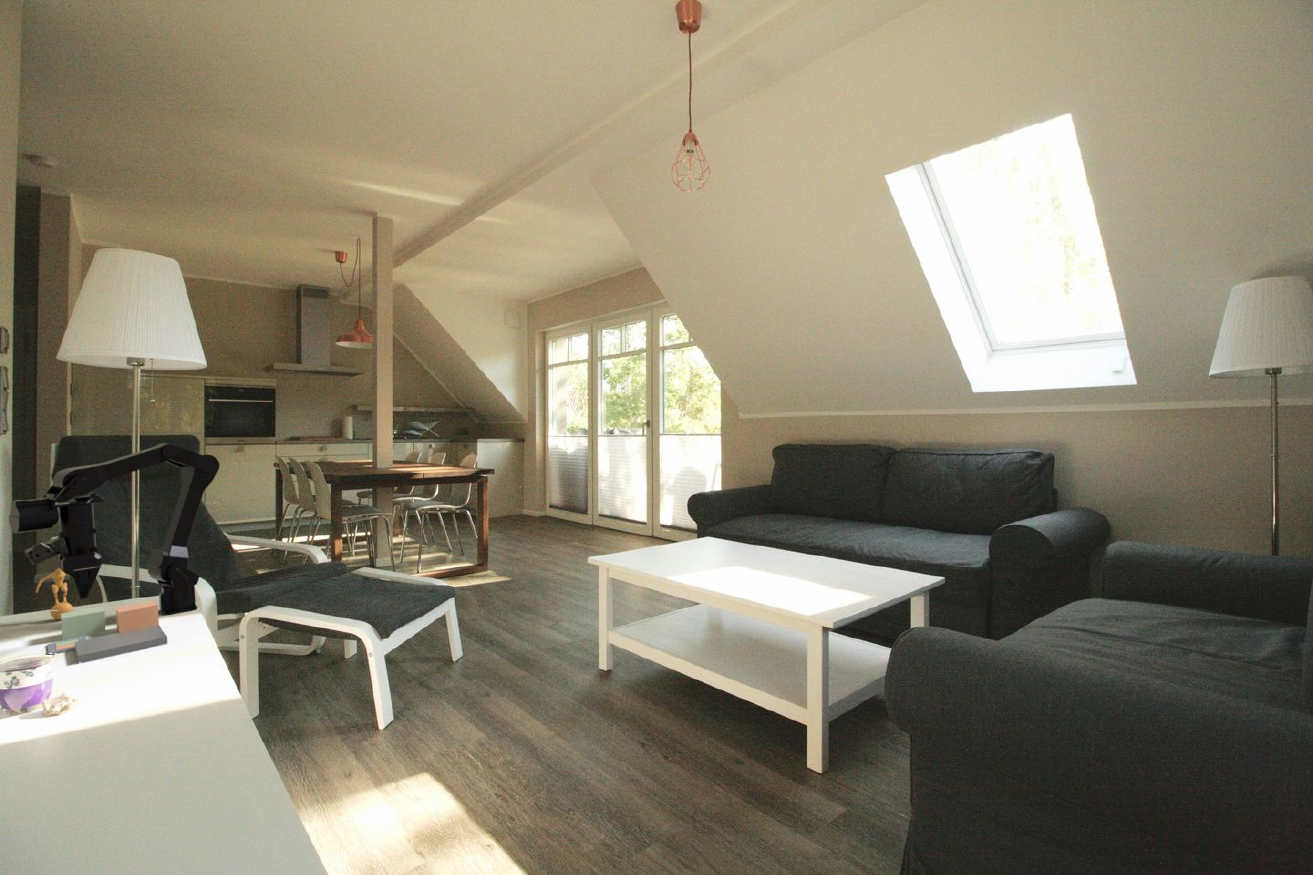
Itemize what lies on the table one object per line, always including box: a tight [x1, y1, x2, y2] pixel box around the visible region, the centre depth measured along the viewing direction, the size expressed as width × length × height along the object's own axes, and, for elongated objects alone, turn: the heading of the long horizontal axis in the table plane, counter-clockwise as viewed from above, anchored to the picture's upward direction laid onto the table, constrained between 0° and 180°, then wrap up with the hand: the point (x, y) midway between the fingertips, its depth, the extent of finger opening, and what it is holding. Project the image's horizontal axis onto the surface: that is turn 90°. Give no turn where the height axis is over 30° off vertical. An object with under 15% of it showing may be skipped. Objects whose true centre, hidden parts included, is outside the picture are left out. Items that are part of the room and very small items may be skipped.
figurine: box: [35, 568, 74, 621], centre depth 154 cm, size 8×6×12 cm
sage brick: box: [60, 606, 107, 641], centre depth 142 cm, size 7×5×5 cm
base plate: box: [74, 624, 168, 664], centre depth 134 cm, size 14×11×2 cm
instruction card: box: [47, 636, 87, 654], centre depth 135 cm, size 6×8×1 cm
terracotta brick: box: [115, 600, 160, 633], centre depth 146 cm, size 7×5×5 cm
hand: (82, 594), depth 142 cm, fingers open, 9 cm apart
